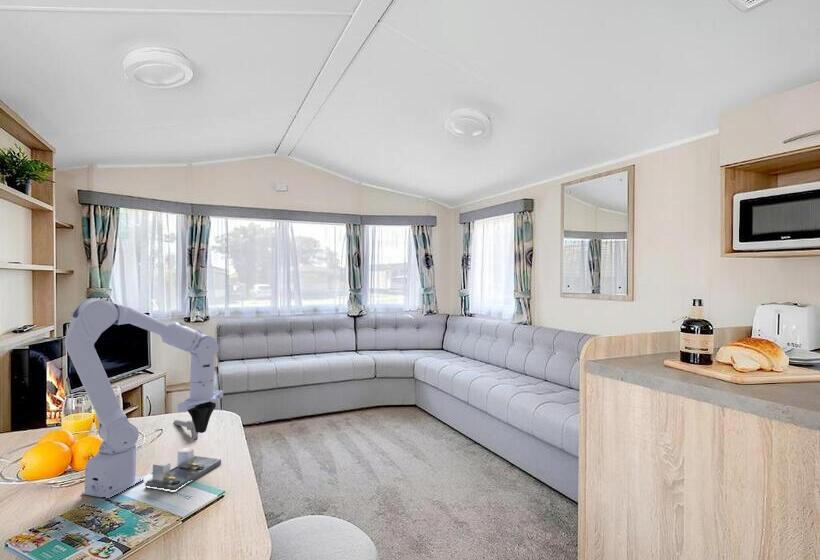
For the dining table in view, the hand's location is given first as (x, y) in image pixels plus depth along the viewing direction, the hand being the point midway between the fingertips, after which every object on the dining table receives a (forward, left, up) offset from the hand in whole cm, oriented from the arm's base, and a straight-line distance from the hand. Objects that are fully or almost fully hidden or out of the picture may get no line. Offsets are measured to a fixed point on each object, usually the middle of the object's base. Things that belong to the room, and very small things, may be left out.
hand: (200, 431), depth 114 cm
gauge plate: (-7, -2, -8) cm, 11 cm away
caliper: (+19, +22, -9) cm, 30 cm away
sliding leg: (-5, -1, -7) cm, 9 cm away
